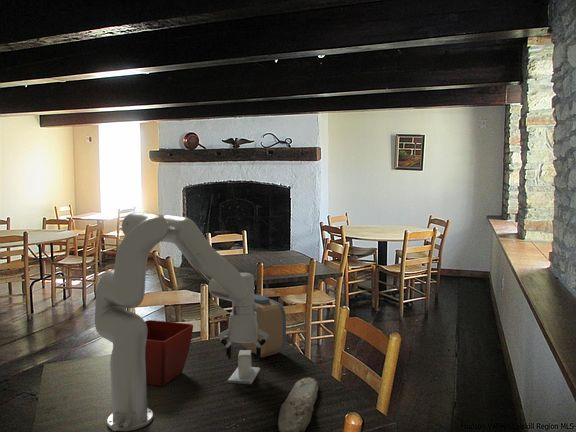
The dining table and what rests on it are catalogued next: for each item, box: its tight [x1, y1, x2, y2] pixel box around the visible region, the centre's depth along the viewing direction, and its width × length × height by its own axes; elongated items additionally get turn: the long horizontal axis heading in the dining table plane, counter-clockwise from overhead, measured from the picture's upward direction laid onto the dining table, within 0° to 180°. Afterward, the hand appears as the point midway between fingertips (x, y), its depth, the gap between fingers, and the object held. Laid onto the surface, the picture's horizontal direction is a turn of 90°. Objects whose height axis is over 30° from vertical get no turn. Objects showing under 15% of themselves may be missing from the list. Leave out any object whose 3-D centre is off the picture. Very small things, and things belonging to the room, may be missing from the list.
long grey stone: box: [277, 376, 319, 432], centre depth 153 cm, size 35×5×10 cm
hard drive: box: [227, 366, 261, 385], centre depth 177 cm, size 2×8×12 cm
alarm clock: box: [240, 293, 287, 358], centre depth 199 cm, size 21×10×22 cm, turn 37°
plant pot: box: [144, 319, 194, 387], centre depth 175 cm, size 19×19×17 cm
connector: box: [237, 349, 252, 379], centre depth 177 cm, size 11×4×7 cm, turn 0°
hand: (243, 357), depth 176 cm, fingers open, 9 cm apart
